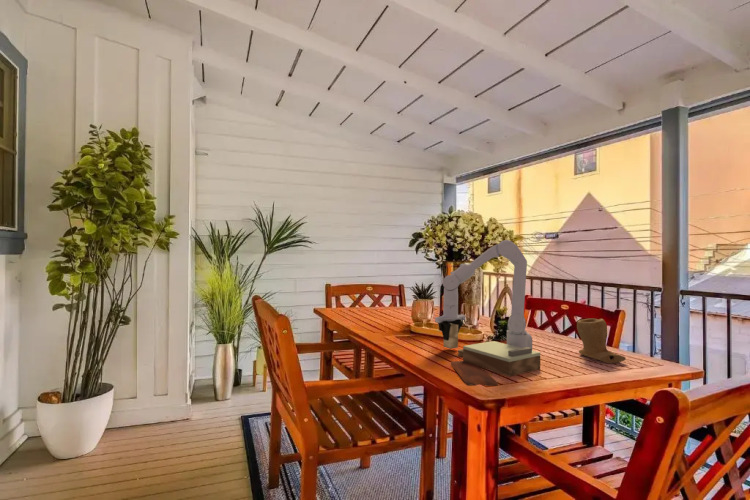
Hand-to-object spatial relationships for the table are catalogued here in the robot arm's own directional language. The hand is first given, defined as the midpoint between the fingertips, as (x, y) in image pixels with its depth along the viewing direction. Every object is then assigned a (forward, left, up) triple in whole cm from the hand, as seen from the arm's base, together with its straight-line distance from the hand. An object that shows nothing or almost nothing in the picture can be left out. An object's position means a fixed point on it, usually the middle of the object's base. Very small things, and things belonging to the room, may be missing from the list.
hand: (450, 339), depth 162 cm
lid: (0, +25, 0) cm, 25 cm away
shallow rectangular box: (0, +21, -4) cm, 22 cm away
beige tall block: (0, 0, -3) cm, 3 cm away
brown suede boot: (-38, +38, -4) cm, 54 cm away
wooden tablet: (+15, +25, -5) cm, 30 cm away
